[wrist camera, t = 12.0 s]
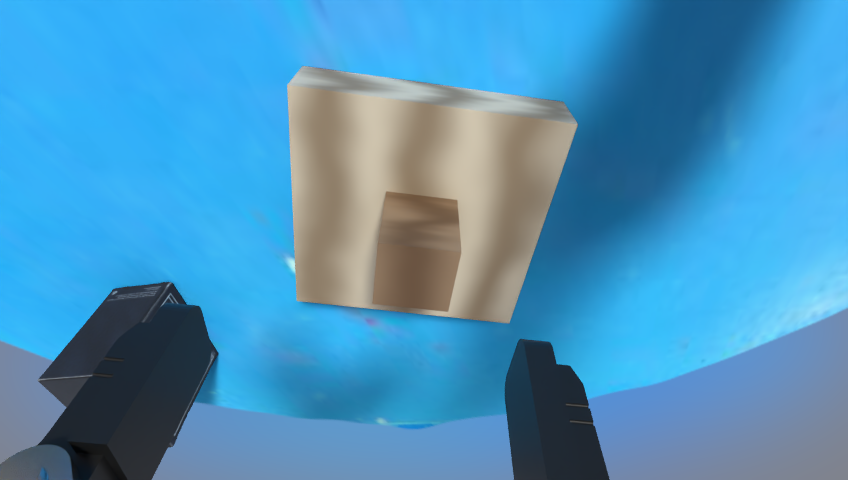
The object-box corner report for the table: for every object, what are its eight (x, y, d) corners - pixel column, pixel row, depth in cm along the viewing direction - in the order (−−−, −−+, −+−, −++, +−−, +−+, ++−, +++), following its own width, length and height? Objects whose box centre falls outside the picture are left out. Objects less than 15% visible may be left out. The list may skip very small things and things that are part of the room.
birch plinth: (563, 102, 32) (577, 124, 29) (503, 291, 43) (509, 323, 39) (302, 65, 31) (287, 85, 28) (307, 269, 41) (296, 300, 38)
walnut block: (457, 199, 32) (461, 252, 27) (446, 255, 35) (447, 311, 30) (386, 191, 32) (377, 242, 27) (380, 248, 35) (372, 303, 30)
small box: (108, 286, 43) (29, 380, 35) (172, 278, 43) (107, 372, 34) (164, 359, 49) (108, 454, 41) (221, 353, 49) (176, 448, 40)
